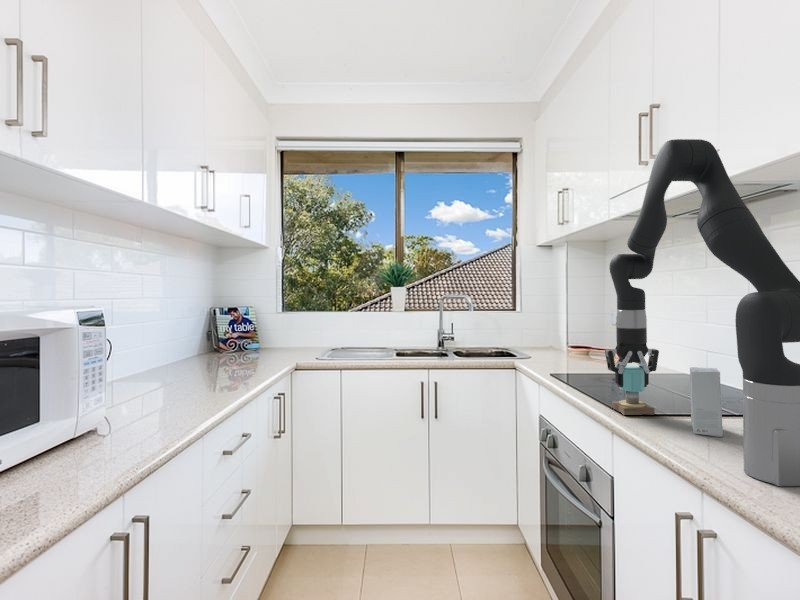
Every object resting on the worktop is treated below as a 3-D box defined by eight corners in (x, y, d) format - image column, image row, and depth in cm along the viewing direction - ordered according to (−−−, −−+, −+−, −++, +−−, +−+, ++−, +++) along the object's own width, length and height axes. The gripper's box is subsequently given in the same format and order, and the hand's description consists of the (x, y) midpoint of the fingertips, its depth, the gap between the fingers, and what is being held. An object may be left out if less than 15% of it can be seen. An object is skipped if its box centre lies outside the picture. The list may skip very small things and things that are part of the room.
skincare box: (723, 437, 105) (722, 372, 105) (691, 434, 108) (691, 370, 108) (719, 428, 112) (718, 366, 112) (689, 425, 115) (689, 365, 115)
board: (654, 415, 124) (654, 393, 124) (624, 415, 124) (623, 393, 124) (640, 408, 132) (640, 387, 132) (611, 408, 132) (611, 387, 132)
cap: (648, 391, 125) (648, 369, 125) (625, 392, 125) (625, 370, 125) (637, 387, 131) (637, 366, 131) (616, 387, 131) (616, 366, 131)
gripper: (610, 327, 124) (611, 389, 125) (665, 326, 124) (665, 389, 124) (599, 325, 132) (600, 384, 132) (651, 324, 131) (651, 383, 132)
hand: (632, 386), depth 128 cm, fingers closed on cap, 5 cm apart
